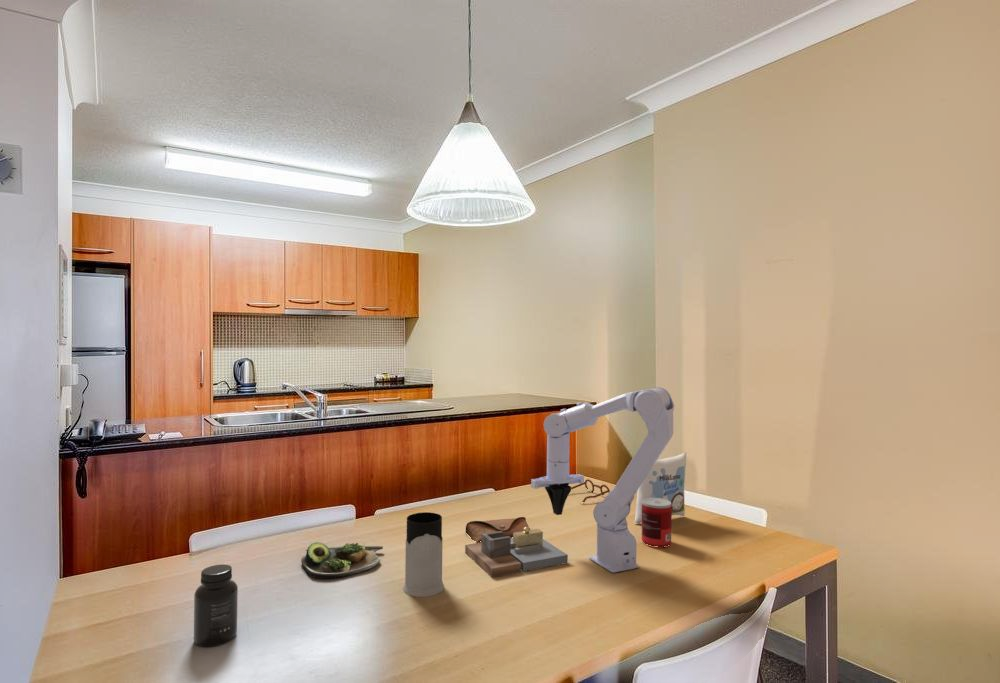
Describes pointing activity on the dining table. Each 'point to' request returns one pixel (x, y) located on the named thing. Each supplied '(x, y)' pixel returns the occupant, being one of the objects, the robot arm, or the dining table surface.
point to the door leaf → (538, 556)
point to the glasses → (593, 489)
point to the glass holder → (423, 555)
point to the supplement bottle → (215, 607)
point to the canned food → (656, 521)
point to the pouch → (664, 484)
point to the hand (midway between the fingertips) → (557, 513)
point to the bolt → (527, 538)
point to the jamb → (494, 554)
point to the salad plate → (338, 559)
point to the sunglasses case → (495, 527)
